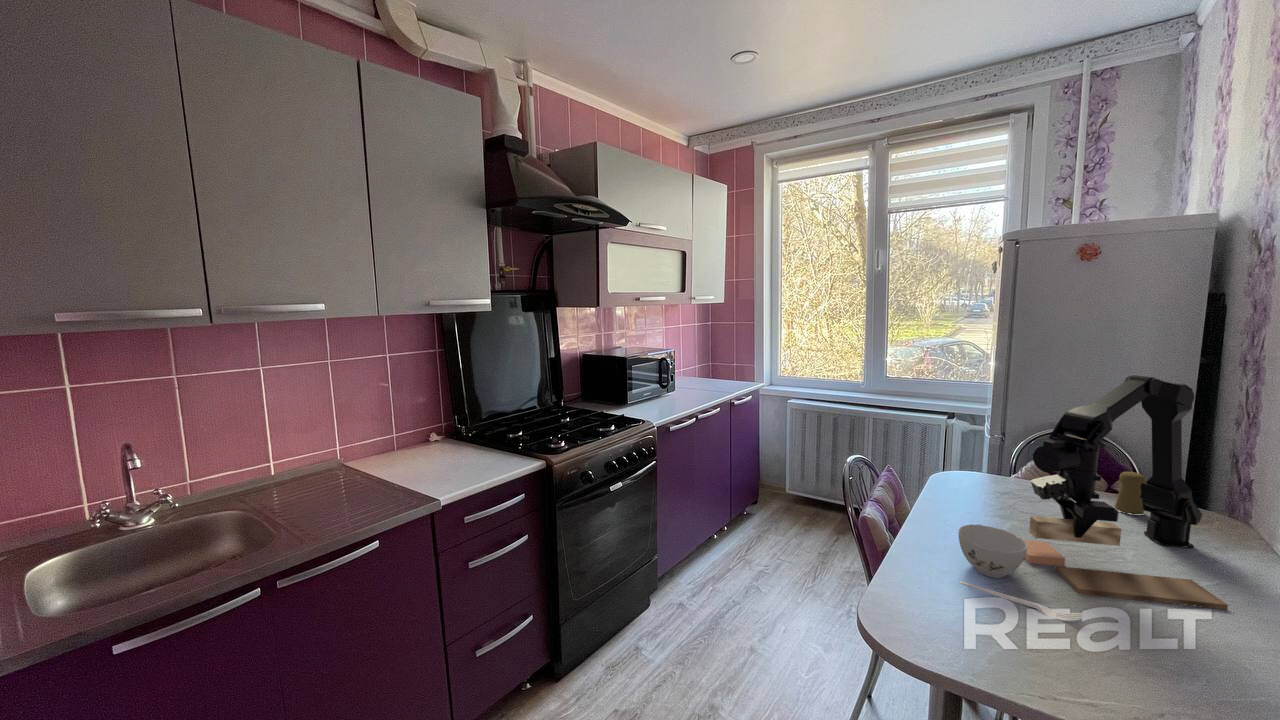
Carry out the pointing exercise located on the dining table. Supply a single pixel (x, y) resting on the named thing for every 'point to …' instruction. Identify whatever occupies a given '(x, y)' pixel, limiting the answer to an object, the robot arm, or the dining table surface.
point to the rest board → (1139, 587)
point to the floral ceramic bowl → (992, 549)
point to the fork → (1034, 605)
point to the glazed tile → (1043, 554)
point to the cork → (1130, 493)
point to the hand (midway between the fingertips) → (1073, 533)
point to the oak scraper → (1065, 531)
